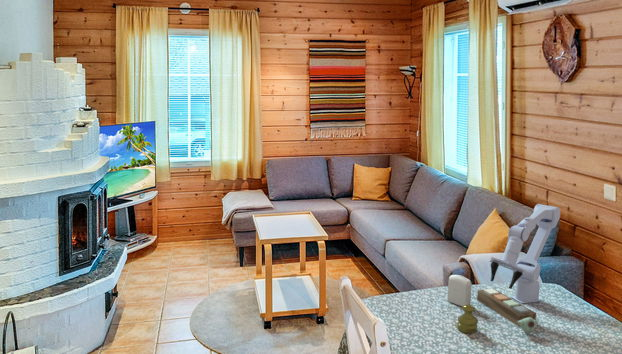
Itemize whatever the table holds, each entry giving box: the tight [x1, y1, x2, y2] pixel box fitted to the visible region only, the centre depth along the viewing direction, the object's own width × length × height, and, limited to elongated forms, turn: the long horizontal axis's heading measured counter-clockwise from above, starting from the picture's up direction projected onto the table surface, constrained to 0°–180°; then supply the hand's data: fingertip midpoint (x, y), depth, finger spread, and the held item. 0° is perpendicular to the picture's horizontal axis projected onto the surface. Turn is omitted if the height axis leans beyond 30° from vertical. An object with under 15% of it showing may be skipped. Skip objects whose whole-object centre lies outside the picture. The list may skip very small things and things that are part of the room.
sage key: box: [503, 299, 520, 307], centre depth 237 cm, size 4×4×2 cm
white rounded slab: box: [447, 274, 472, 307], centre depth 247 cm, size 10×4×12 cm, turn 39°
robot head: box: [517, 317, 539, 335], centre depth 219 cm, size 8×4×7 cm, turn 96°
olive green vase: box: [456, 303, 479, 334], centre depth 222 cm, size 7×7×10 cm
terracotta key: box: [493, 293, 510, 301], centre depth 243 cm, size 4×4×2 cm
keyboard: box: [476, 288, 537, 327], centre depth 240 cm, size 8×28×4 cm, turn 19°
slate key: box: [513, 305, 531, 314], centre depth 231 cm, size 4×4×2 cm
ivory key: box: [483, 288, 500, 295], centre depth 249 cm, size 4×4×2 cm
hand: (500, 284), depth 237 cm, fingers open, 7 cm apart
